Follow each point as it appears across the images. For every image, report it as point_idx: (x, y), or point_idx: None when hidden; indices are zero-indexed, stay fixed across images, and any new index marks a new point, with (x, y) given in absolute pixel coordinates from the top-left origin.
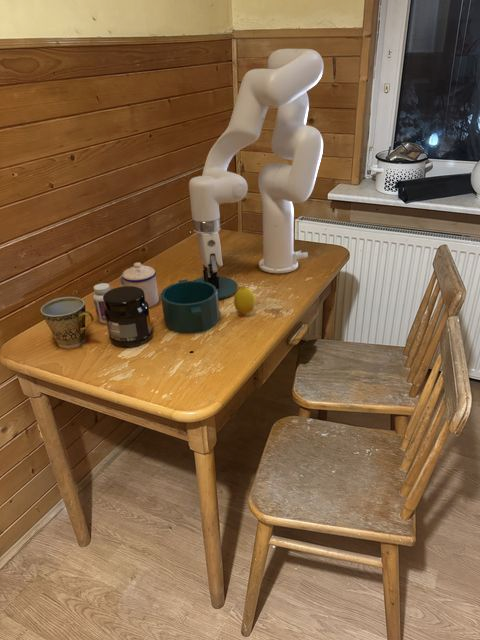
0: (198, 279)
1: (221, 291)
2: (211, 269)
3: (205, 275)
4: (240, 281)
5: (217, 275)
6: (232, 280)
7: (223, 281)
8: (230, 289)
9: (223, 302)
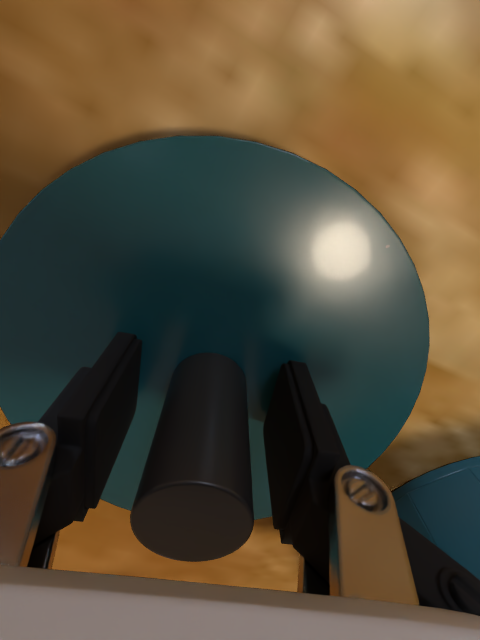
0: (26, 413)
1: (342, 353)
2: (160, 501)
3: (114, 457)
4: (150, 27)
5: (387, 501)
6: (175, 153)
7: (154, 252)
8: (362, 274)
9: (438, 369)
